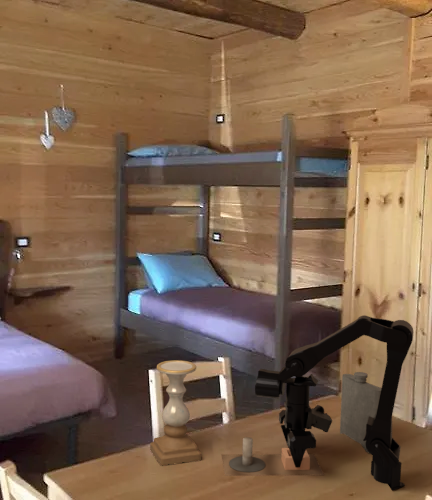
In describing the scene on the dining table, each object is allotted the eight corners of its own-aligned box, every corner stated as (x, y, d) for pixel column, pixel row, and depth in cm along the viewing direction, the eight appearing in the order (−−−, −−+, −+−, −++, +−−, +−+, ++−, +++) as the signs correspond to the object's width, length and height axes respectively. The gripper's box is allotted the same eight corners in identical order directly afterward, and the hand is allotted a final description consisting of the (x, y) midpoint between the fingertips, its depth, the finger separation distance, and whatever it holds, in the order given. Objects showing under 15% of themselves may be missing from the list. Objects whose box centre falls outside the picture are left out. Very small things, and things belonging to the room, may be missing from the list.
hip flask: (383, 453, 176) (386, 380, 174) (370, 456, 174) (374, 382, 172) (346, 432, 190) (349, 364, 188) (335, 434, 189) (337, 366, 187)
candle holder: (149, 449, 176) (150, 361, 173) (188, 444, 180) (190, 358, 177) (160, 466, 166) (161, 373, 163) (202, 460, 170) (203, 369, 167)
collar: (304, 459, 168) (305, 447, 168) (309, 469, 162) (309, 457, 162) (281, 459, 168) (281, 447, 167) (285, 469, 162) (285, 457, 162)
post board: (314, 459, 171) (315, 430, 171) (324, 481, 160) (325, 449, 159) (221, 460, 170) (222, 429, 169) (224, 481, 158) (225, 449, 157)
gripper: (338, 414, 154) (336, 478, 156) (321, 388, 173) (319, 446, 175) (291, 414, 154) (289, 478, 155) (279, 388, 172) (277, 446, 174)
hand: (295, 461), depth 165 cm, fingers closed on collar, 6 cm apart
